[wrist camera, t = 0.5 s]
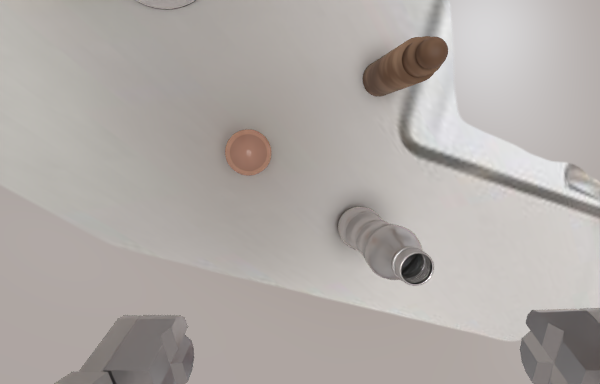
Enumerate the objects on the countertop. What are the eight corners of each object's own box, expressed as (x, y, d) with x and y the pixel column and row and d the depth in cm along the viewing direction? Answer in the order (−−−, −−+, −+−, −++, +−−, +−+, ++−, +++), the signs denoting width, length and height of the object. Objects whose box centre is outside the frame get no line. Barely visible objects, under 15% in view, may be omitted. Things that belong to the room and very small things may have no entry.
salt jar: (222, 139, 49) (217, 137, 40) (259, 126, 50) (263, 122, 41) (236, 175, 50) (234, 182, 41) (272, 163, 51) (278, 167, 42)
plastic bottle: (374, 243, 55) (445, 298, 36) (333, 244, 54) (383, 300, 34) (376, 204, 54) (451, 237, 35) (335, 203, 53) (387, 237, 34)
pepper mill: (358, 67, 51) (411, 31, 35) (389, 57, 52) (455, 17, 35) (368, 100, 52) (424, 80, 36) (398, 90, 52) (467, 66, 36)
